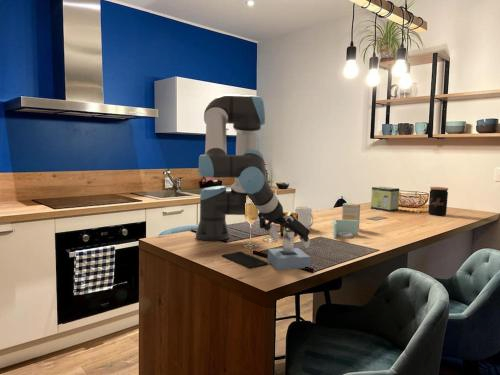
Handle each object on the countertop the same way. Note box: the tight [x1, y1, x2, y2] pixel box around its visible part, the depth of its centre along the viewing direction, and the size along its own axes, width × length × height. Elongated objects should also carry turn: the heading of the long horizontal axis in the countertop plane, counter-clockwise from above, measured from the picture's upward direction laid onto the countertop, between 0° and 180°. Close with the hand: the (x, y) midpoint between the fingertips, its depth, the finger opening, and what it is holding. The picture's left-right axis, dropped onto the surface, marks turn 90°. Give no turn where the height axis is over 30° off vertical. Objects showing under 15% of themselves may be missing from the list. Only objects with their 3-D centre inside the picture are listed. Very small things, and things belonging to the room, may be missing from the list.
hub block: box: [267, 247, 311, 270], centre depth 139 cm, size 12×12×4 cm
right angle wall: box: [332, 218, 360, 240], centre depth 184 cm, size 12×12×8 cm
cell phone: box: [221, 251, 270, 270], centre depth 142 cm, size 9×18×1 cm, turn 37°
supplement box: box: [341, 202, 361, 230], centre depth 203 cm, size 8×5×13 cm, turn 57°
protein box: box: [370, 186, 400, 213], centre depth 267 cm, size 10×16×16 cm
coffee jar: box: [428, 186, 449, 217], centre depth 251 cm, size 11×11×18 cm
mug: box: [294, 206, 314, 230], centre depth 199 cm, size 9×12×11 cm
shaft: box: [282, 227, 295, 255], centre depth 139 cm, size 4×4×13 cm
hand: (292, 241), depth 140 cm, fingers open, 13 cm apart
